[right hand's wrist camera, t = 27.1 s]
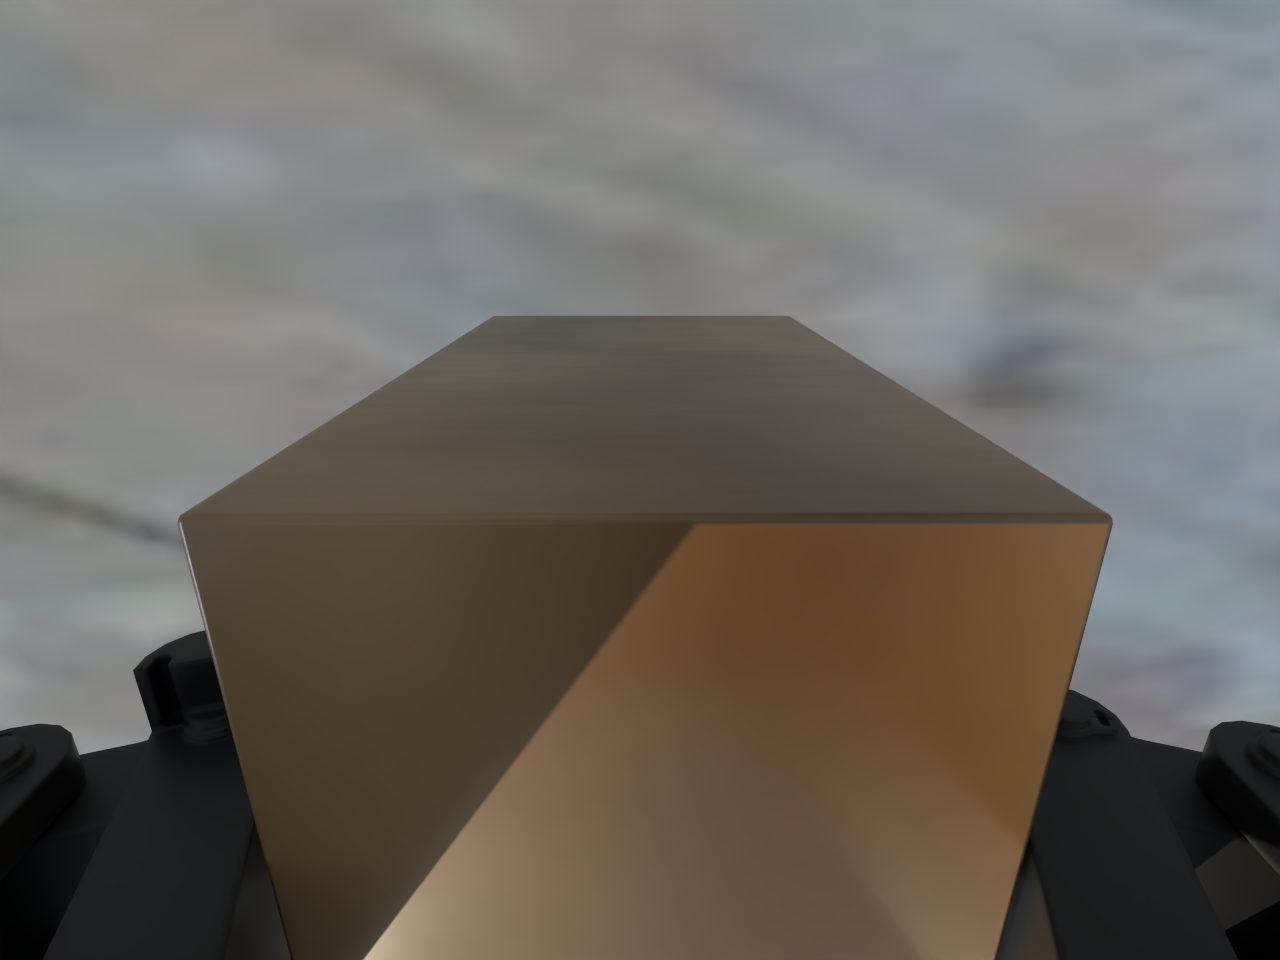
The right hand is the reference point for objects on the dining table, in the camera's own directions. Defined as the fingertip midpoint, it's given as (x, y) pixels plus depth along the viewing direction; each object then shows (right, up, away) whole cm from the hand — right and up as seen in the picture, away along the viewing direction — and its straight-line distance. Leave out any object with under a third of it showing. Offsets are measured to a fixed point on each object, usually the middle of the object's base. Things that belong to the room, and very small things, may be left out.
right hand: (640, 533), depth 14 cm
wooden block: (0, 0, +2) cm, 2 cm away
